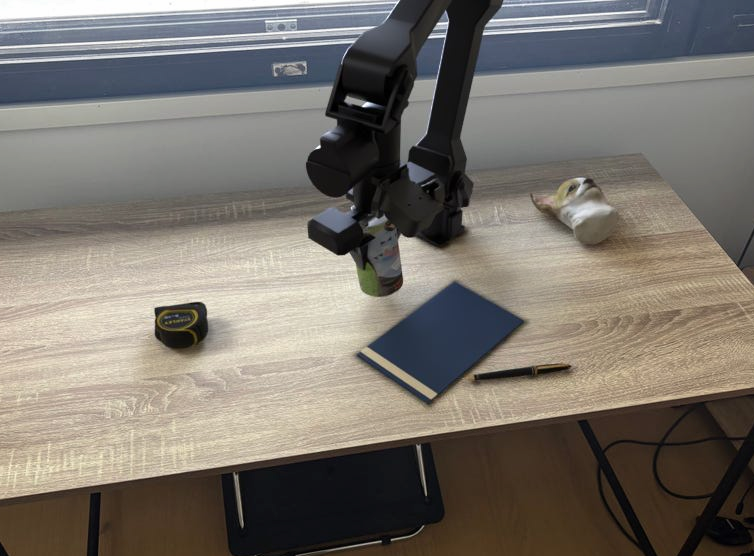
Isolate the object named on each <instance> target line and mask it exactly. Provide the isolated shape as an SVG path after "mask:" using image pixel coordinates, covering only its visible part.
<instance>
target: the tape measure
mask: <svg viewBox="0 0 754 556" xmlns="http://www.w3.org/2000/svg"><path fill="white" fill-rule="evenodd" d="M153 310H154V312H153V313H154V316H155V318H154V334H153V335H154V337H155V339H156V340H157V341H159V342H160V343H161V344H162V345H163V346H164V347H166V348H168V349H173V350H183V349H189V348H191V347H194V346H197V345H199V344H200V343H201V342H203V341H204V340H205V338H206V337H207V336H208V332H209V322H208V309H207V306H206V304H205V303H204V302H202V301H192V302H191V301H190V302H186V303H178V304H171V305H162V306H156V307H154V309H153Z"/></svg>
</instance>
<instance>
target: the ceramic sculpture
mask: <svg viewBox="0 0 754 556" xmlns="http://www.w3.org/2000/svg"><path fill="white" fill-rule="evenodd" d="M529 197H530V199H531V200H530V201H531V202H532V204H533V206H534V207H535V208H536V209H537V211H538V212H540V213H541V214H543V215H545V216H549V217H551V218H554V219H558V220H559V221H561V222H562V223H563V224H564V225H566V226H567V227H569V229H571V230H572V231H573V235H574V237H575V239H576V241H577V242H578V243H579V244H583V245H597V244H599V243H601V242H602V241H604V240H605V239H608V238H609V237H610V236H611V235H612V234H613V233H614V231H615V230H616V228H617V225H618V222H619V220H620V218H621V217H620V214H619V210H618V209H617V208H616V207H614V206H611V205H609V202H608V200H607V197H606V196H605V194H604V192H603V190H602V188H601V186H600V185H599V184H598V183H597V182H596V181H594V180H593V178H590V177H589V178H588V177H576V178H575V177H574V178H570V179H568V180H566V181H564V182H563V183H561V185H560V186H559V188H558V190H557V192H556V194H555V195H551V194H545V193H544V194H536V193H533V192H529Z"/></svg>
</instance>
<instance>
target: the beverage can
mask: <svg viewBox="0 0 754 556" xmlns="http://www.w3.org/2000/svg"><path fill="white" fill-rule="evenodd" d="M368 233H369V234H371V235H373V236H375V237H376V238H375V239H374V240H372V241H371V242H369V243H368V257H367V263H366V267H365V270H364V271H363V270H361V269H359V268H358V266H357V265H356V264H355V268H356V273H357V279H358V284H359V288H360V290H361V292H362V293H364V294H365V295H367V296H369V297H373V298H385V297H389V296H391V295H393V294H395V293H397V291H399V290H401V288H402V286H403V284H404V276H403V275H404V274H403V268H402V260H401V253H400V252H401V251H400V245H399V239H398V237H397V229H396V227H395V226H394V225H393V224H392V223H391V222H390V221H389V220H388V219H387V218H386V217H385V215H384V216H383V217H381V218H380V219H377V218H375V219H374V220H372V221H370V222H369V227H368Z"/></svg>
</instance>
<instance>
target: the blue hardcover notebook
mask: <svg viewBox="0 0 754 556" xmlns="http://www.w3.org/2000/svg"><path fill="white" fill-rule="evenodd" d="M524 323H525V320H524V319H523V318H521V317H519V316H517V315H515V314H514V313H512V312H510V311H509V310H506V309H505V308H503V307H502V306H499V305H498V304H496V303H494V302H493V301H491V300H489V299H487V298H485V297H483V296H482V295H480V294H478V293H476V292H475V291H472V290H471V289H469V288H467V287H466V286H464V285H462V284H460V283H459V282H456V281H453V282H452V283H450V284H449V285H447V286H446V287H445V288H444V289H442V290H441V291H440V292H438V293H437V294H436V295H434V296H433V297H431V298H430V299H429V300H428V301H426V302H425V303H424V304H422V305H421V306H420V307H418V308H417V309H416V310H414V311H412V312H411V313H410V314H409V315H407V316H406V317H405V318H403V319H402V320H401V321H399V322H398V323H397V324H395V325H393V327H391V328H390V329H389V330H387V331H386V332H385V333H383V334H382V335H380V336H379V337H377V339H375V340H374V341H373V342H371V343H370V344H369V345H367V346H365V347H364V348H363V349H361V350H359V352H358V353H356V356H357V357H358V358H359V359H361V360H362V361H364V363H367V364H368V365H369V366H371V367H372V368H374V369H375V370H377V371H378V372H379V373H381V374H383V375H384V376H385V377H387V379H389V380H391V381H392V382H394V383H396V384H397V385H399V386H400V387H402V388H403V389H404V390H406V391H408V392H409V393H410V394H411V395H413V396H415V397H416V398H417V399H419V400H421V401H422V402H424V404H426V405H429V404H430V403H432V402H433V401H434V400H435V399H436V398H438V396H440V395H441V394H442V393H444V391H446V390H447V389H448V388H449V387H450V386H452V385H453V384H454V383H455V382H456V381H458V380H459V378H461V377H462V376H464V374H466V373H467V372H468V371H469V370H470V369H472V368H473V366H475V365H476V364H477V363H479V362H480V361H481V360H482V359H483V358H484V357H485V356H487V354H489V353H490V352H491V351H492V350H494V349H495V348H496V347H497V346H498V345H499V344H500V343H502V342H503V341H505V339H506V338H508V337H509V336H510V335H511V334H512V333H514V331H516V330H517V329H518V328H519V327H520V326H522V325H523V324H524Z"/></svg>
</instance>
